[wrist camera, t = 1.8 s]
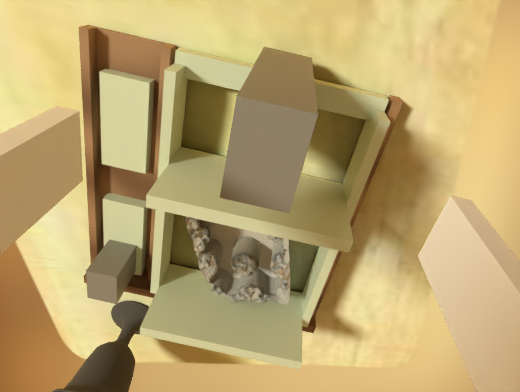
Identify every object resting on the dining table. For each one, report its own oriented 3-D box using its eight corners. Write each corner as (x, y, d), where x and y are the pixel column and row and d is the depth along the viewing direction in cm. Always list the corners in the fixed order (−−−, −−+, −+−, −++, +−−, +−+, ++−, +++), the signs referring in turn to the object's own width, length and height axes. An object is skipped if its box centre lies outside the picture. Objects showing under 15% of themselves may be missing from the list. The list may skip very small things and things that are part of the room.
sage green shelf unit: (181, 24, 23) (87, 61, 13) (394, 74, 24) (464, 148, 13) (161, 269, 34) (101, 393, 24) (306, 301, 35) (308, 438, 24)
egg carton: (192, 175, 29) (177, 201, 26) (288, 173, 28) (286, 200, 25) (211, 277, 34) (201, 311, 31) (292, 278, 33) (291, 313, 30)
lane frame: (87, 24, 24) (67, 29, 22) (399, 97, 25) (408, 108, 23) (97, 264, 35) (84, 282, 33) (312, 312, 36) (313, 333, 34)
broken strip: (106, 68, 25) (66, 86, 21) (154, 79, 26) (124, 100, 21) (109, 260, 35) (82, 300, 30) (144, 268, 35) (122, 309, 30)
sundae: (109, 335, 41) (19, 500, 28) (99, 291, 37) (-9, 456, 24) (168, 342, 40) (105, 513, 27) (163, 298, 37) (88, 470, 24)
